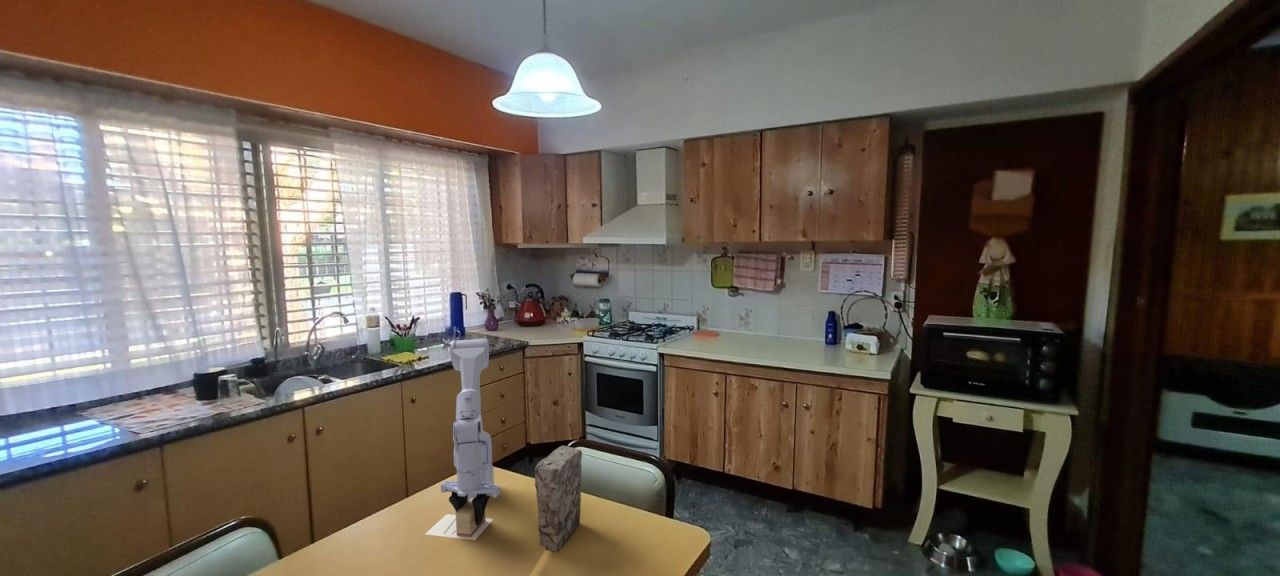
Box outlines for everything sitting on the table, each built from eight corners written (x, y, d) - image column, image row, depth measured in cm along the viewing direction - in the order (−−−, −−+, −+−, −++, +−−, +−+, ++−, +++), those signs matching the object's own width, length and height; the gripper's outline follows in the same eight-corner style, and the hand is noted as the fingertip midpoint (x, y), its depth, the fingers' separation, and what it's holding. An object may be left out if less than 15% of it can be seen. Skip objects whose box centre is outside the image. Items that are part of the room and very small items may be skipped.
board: (446, 518, 123) (446, 514, 123) (493, 523, 120) (493, 518, 120) (424, 539, 114) (424, 534, 114) (475, 545, 111) (474, 540, 111)
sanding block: (472, 519, 120) (471, 497, 120) (485, 520, 119) (484, 499, 119) (456, 535, 113) (455, 512, 113) (470, 536, 113) (469, 514, 112)
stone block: (564, 554, 108) (562, 468, 106) (535, 550, 109) (533, 465, 108) (584, 522, 120) (582, 445, 119) (558, 519, 122) (556, 442, 121)
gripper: (432, 472, 113) (434, 528, 114) (488, 477, 110) (490, 534, 111) (449, 460, 120) (451, 512, 121) (503, 464, 117) (504, 518, 118)
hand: (471, 522), depth 116 cm, fingers closed on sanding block, 4 cm apart
